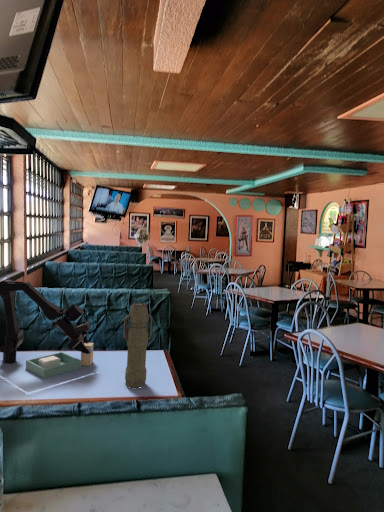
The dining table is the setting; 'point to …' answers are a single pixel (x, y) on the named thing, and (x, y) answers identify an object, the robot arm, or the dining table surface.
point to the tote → (65, 365)
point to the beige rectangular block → (48, 362)
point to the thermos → (137, 344)
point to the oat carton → (87, 355)
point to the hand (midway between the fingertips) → (90, 351)
